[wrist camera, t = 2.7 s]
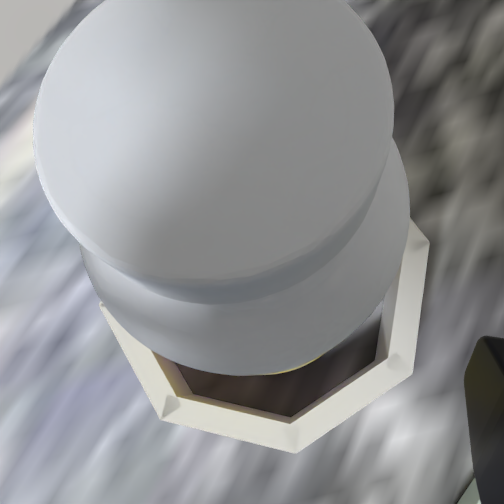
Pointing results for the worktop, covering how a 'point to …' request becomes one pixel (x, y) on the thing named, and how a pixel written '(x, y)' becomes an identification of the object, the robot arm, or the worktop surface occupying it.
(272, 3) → the supplement bottle
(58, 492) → the worktop surface
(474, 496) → the sage board
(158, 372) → the white flat octagonal ring
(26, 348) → the worktop surface
